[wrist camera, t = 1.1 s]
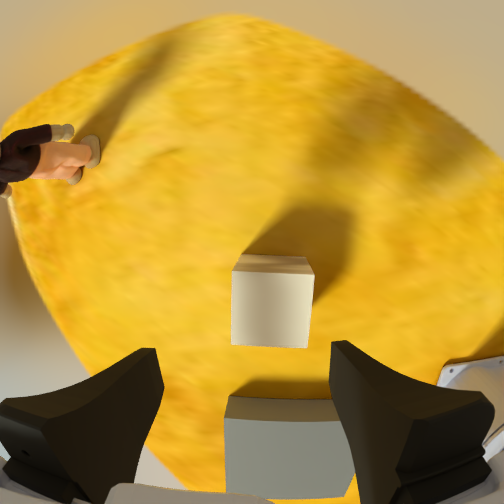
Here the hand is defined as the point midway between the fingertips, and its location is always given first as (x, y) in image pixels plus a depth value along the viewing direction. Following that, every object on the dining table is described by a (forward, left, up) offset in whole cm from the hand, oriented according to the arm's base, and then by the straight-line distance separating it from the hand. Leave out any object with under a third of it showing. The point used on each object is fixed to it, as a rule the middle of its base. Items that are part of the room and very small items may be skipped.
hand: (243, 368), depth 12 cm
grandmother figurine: (+15, -9, -11) cm, 21 cm away
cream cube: (-1, 0, -11) cm, 11 cm away
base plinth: (-4, +16, -11) cm, 19 cm away
